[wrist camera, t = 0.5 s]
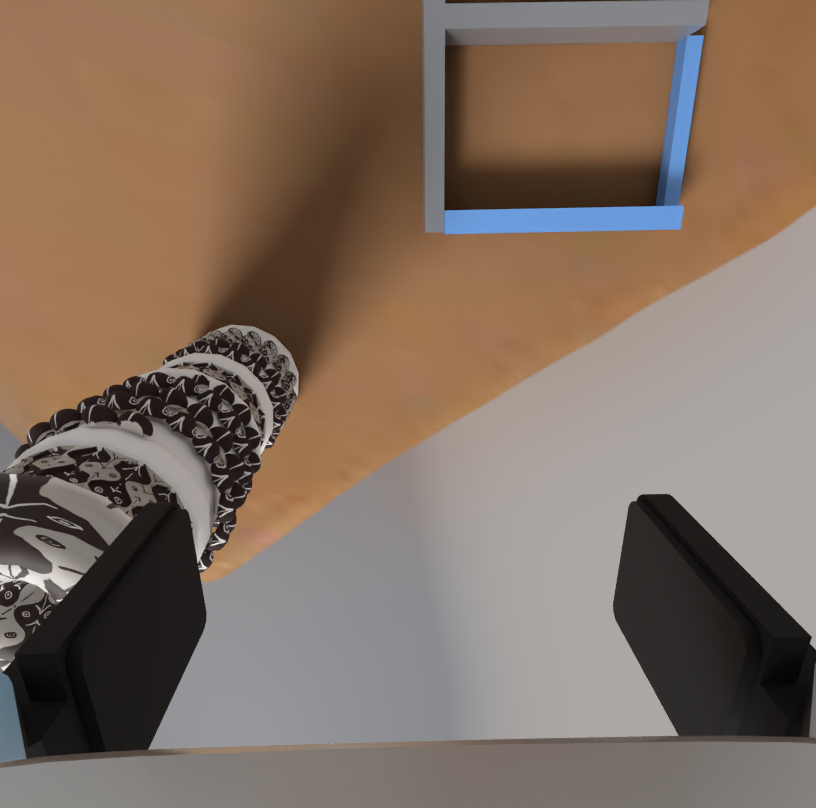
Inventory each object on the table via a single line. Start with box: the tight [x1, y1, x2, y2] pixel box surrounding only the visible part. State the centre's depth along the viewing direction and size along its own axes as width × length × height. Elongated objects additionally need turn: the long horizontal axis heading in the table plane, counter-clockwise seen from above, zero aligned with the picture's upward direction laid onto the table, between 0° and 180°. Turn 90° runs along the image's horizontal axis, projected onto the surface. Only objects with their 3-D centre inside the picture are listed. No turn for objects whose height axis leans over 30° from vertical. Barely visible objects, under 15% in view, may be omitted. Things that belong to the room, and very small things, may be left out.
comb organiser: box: [421, 0, 710, 234], centre depth 30 cm, size 23×17×4 cm
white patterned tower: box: [0, 325, 299, 673], centre depth 27 cm, size 9×9×25 cm
